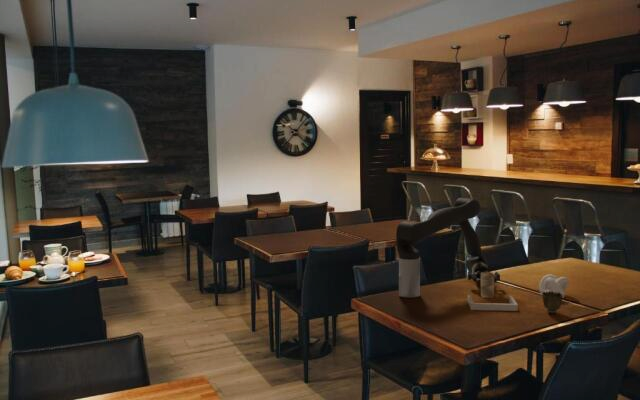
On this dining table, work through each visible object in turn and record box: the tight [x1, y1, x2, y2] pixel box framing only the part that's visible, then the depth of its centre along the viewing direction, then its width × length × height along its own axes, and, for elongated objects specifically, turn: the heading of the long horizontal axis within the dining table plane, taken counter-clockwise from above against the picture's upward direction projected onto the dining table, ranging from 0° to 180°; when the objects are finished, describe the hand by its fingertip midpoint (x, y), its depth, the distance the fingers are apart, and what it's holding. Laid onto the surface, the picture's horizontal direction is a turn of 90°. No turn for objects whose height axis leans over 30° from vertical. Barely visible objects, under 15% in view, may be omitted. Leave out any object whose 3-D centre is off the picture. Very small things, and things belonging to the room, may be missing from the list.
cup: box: [541, 291, 563, 315], centre depth 228 cm, size 8×7×8 cm
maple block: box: [480, 272, 495, 299], centre depth 254 cm, size 5×5×10 cm
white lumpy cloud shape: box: [538, 273, 569, 299], centre depth 252 cm, size 11×12×9 cm
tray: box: [467, 294, 519, 312], centre depth 240 cm, size 18×13×2 cm
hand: (485, 279), depth 259 cm, fingers open, 8 cm apart
